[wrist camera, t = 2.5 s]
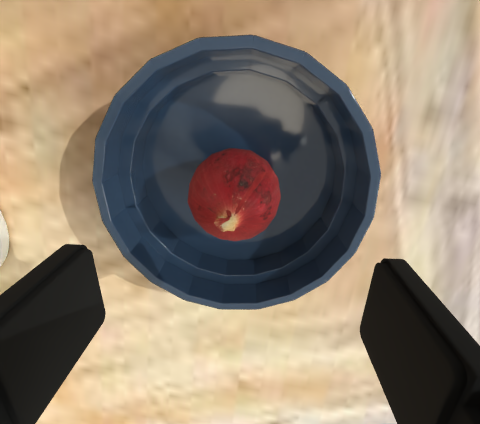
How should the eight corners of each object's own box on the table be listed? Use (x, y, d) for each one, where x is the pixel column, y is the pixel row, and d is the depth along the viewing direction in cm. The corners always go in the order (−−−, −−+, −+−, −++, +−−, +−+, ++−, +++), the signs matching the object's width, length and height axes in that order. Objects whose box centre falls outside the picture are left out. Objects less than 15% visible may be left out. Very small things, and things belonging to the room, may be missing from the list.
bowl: (116, 241, 24) (85, 275, 20) (144, 14, 18) (105, -14, 13) (302, 290, 26) (313, 333, 21) (394, 94, 19) (439, 94, 14)
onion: (222, 124, 20) (205, 143, 12) (290, 165, 21) (311, 205, 13) (187, 191, 22) (153, 240, 15) (250, 225, 23) (248, 288, 15)
